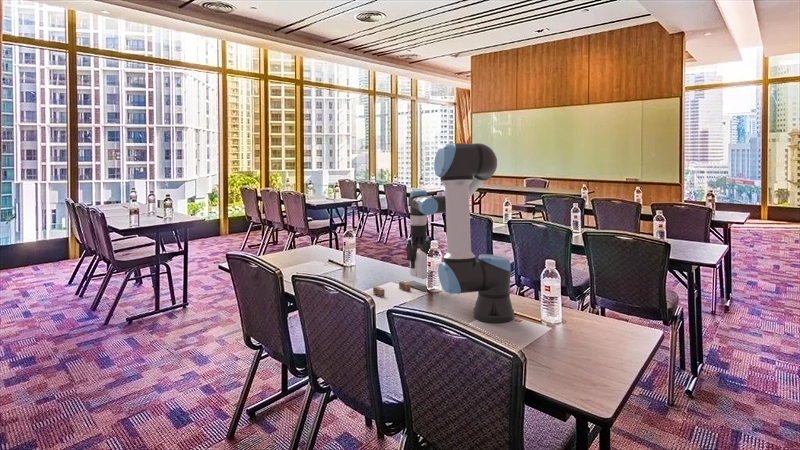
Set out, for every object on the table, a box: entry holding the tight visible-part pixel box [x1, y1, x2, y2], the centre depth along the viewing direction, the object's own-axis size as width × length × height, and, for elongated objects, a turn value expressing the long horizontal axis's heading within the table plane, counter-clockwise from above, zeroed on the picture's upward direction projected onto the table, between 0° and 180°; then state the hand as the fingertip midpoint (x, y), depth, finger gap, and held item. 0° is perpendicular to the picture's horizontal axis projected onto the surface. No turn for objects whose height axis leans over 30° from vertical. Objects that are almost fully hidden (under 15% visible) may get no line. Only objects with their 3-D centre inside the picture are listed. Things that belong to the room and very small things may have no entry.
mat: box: [405, 280, 428, 292], centre depth 230 cm, size 16×6×1 cm, turn 36°
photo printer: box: [409, 249, 428, 280], centre depth 229 cm, size 10×4×12 cm, turn 34°
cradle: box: [372, 281, 412, 297], centre depth 221 cm, size 6×16×3 cm, turn 126°
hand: (418, 274), depth 229 cm, fingers closed on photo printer, 4 cm apart
